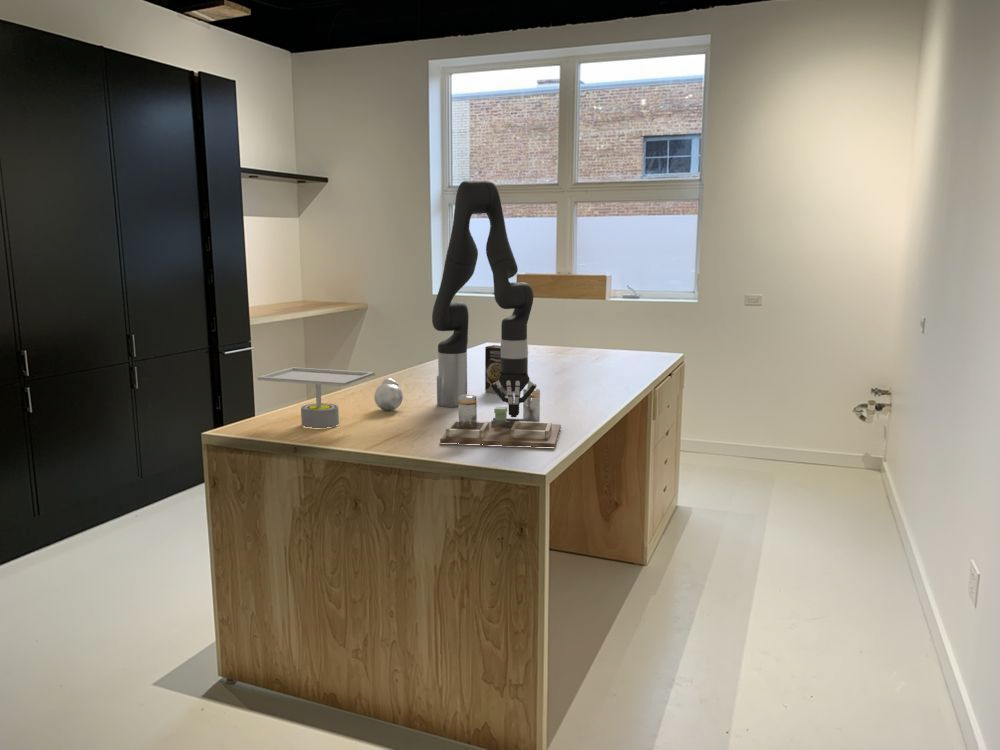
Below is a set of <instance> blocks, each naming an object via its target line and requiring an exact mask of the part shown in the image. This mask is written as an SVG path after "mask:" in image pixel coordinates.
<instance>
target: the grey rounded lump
mask: <svg viewBox="0 0 1000 750" xmlns="http://www.w3.org/2000/svg"><path fill="white" fill-rule="evenodd" d="M403 396H404V394H403V391H402V389H401V388H400V386H399V382H398V381H396V380H395V379H392V378H391V377H387V378H385V379H383V380H382V382H381V384H380V385H379V386H377V388H376V389H375V392H374V396H373V398H374V403H375V405H376V406H377V407H378V408H380V410H382V411H388V412H391V411H394V410H396V409H398V408H399V407H400V406H401V404H402V402H403V399H404V397H403Z"/></svg>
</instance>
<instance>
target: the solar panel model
mask: <svg viewBox="0 0 1000 750" xmlns="http://www.w3.org/2000/svg"><path fill="white" fill-rule="evenodd" d="M375 375H376V373H375V372H374V371H363V370H362V371H359V370H358V371H357V370H343V369H330V368H329V369H327V368H313V367H312V368H309V367H295V366H292V367H289V368H285V369H282V370H277V371H274V372H270V373H267V374H263V375H259V376H257V378H256V379H257V381H261V382H262V381H264V382H265V381H266V382H278V383H291V384H292V383H295V384H307V385H315V403H308V404H304V405H302V406H300V413H301V417H300V418H301V426H302V425H303V426H305V427H312V428H327V427H333V426H336V425H338V424H339V425H340V418H339V417H340V416H339V415H340V414H339V405H337V404H334V403H328V402H327V403H324V402H323V403H322V388H321V386H322V385H323V386H335V387H346V386H348V385H351V384H353V383H357V382H359V381H362V380H366V379H367V378H370V377H373V376H374V377H375Z"/></svg>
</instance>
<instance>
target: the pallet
mask: <svg viewBox="0 0 1000 750" xmlns="http://www.w3.org/2000/svg"><path fill="white" fill-rule="evenodd" d="M561 428H562V426H561V423H560V424H558V423H557V424H555V423H552V422H548V421H547V422H546V421H540V422H529V419H523V418H514V417H510V418H508V417H507V421H497V420H495V417H493V418H492V419H491V421H477V430H469V429H459V420H453V421H452V422H451V423H450V424H449V425H448V426H447V427H446V428H445V433H443V435H442V436H441V437H440V439H439V444H440V443H457V444H458V443H459V444H480V445H482V444H483V445H502V446H531V447H555V448H556V446H555V445H557V443H558V440H557V438H558V439H559V437H558V435H559V436H560V434H559V432H560V433H561V430H562V429H561ZM560 429H561V430H560ZM556 442H557V443H556Z"/></svg>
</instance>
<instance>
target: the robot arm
mask: <svg viewBox="0 0 1000 750" xmlns="http://www.w3.org/2000/svg"><path fill="white" fill-rule="evenodd" d="M453 211H454V212H453V213H454V214H453V221H452V228H451V233H450V239H449V242H448V247H447V250H446V255H445V260H444V266H443V267H444V268H443V271H442V276H441V277H442V278H441V282H440V286H439V290H438V291H437V295H436V299H435V301H434V305H433V309H432V315H431V321H432V322H431V323H432V326H433V329H434V330H436V331H438V332H453V333H452V334H451V336H449V337H448V338H446V339H445V340H442V341H440V342H439V343H438V345H437V361H438V362H437V364H438V365H437V366H438V367H437V368H438V369H437V370H438V371H437V372H438V375H437V376H436V404H437V405H436V406H438V405H441V406H440V407H444V406H445V408H459V396H460V395H468V353H467V352H468V351H467V350H468V341H469V338H468V337H469V309H468V306H467V304H466V303H465V301H461V300H460V301H458V300H457V301H453V299H454V297H455V296H456V294H457V293H458V292H459V291H461V289H462V288H463V287H464V286H465V285H466V284H467V283H468V281H470V279H471V278H472V276H474V273H475V270H476V265H477V261H478V257H479V250H478V247H477V244H476V242H475V240H474V237H473V236H472V233H471V230H470V222H471V218H472V215H479V214H480V215H481V214H482V215H483V214H484V215H485V214H486V215H487V218H488V220H489V232H488V236H487V241H486V245H485V254H486V258H487V261H488V264H489V267H490V269H491V272H492V277H493V290H494V291H493V296H494V300H495V303H496V304H497V305H498V307H499V308H501V309H503V310H512V309H513V312H512V314H511V315H510V316H508V317H505V318H503V319H502V320H501V340H500V346H501V373H500V376H499V380H498V381H497V382H494V383H493V384H492V386H491V387H492V388H493V389H494V391H495V392H496V393H495V394H496V395H497V396H498V398H499V399H500V400H501V401H502V402H503V403H507V404H508V415H509V416H510V418H517V416H519V414H520V404H521V403H523V402H525V401H526V399H527V398H528V397H529V396H530V394H531V393H532V392H533V391H534V390H535V388H537V383H534V382H532V381H531V380H530V376H529V374H528V373H529V370H528V368H529V367H528V366H529V359H528V358H529V348H528V347H529V346H528V321H529V319H530V314H531V311H532V307H533V304H534V292H533V288H532V287H531V285H530V284H529V283H528V282H524V281H523V282H521V281H520V282H519V281H518V282H510V280H509V279H511V278H513V277H514V276H515V275H517V273H518V272H519V271H518V265H517V262H516V261H517V260H516V258H515V257H514V256H515V255H514V253H513V251H512V248H511V245H510V242H509V238H508V233H507V229H506V228H507V227H506V222H505V217H504V210H503V207H502V202H501V196H500V193H499V190H498V187H497V185H496V184H495V182H494V181H492V180H488V179H479V180H478V179H477V180H476V179H473V180H464V181H462V182H461V183H459V185H458V188H457V191H456V196H455V203H454V210H453ZM500 383H501V384H502V386H503V387H504V389H505V390H506V391H507V395H506V394H505V393H504V392H503V391H502V390H501V385H500ZM526 386H527V387H526ZM525 388H527V389H528V391H527V392H526V393H525V394H524V396H523V395H522V396H521V394H522V393H521V392H523V389H525ZM513 391H514V392H513Z"/></svg>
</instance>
